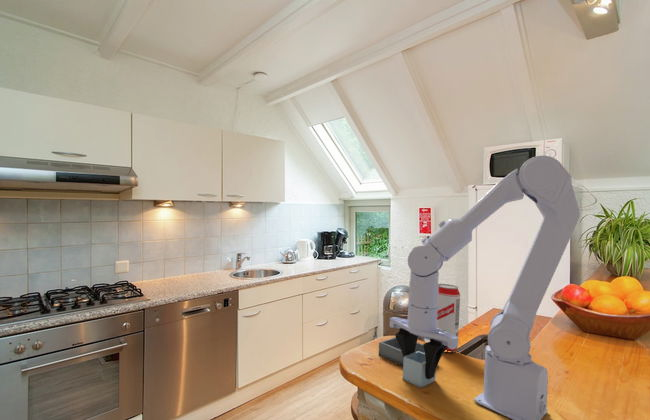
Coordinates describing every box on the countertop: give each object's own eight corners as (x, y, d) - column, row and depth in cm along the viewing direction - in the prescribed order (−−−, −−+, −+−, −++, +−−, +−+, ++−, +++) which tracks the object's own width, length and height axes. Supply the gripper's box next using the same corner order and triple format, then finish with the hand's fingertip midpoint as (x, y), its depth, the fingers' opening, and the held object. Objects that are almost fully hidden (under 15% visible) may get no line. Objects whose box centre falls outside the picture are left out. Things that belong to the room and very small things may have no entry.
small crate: (435, 380, 66) (436, 358, 66) (420, 388, 63) (422, 364, 63) (417, 372, 70) (418, 350, 70) (402, 379, 66) (403, 356, 66)
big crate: (435, 362, 75) (435, 349, 75) (415, 371, 70) (416, 357, 70) (399, 347, 83) (399, 335, 83) (378, 354, 77) (379, 342, 77)
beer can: (453, 356, 79) (456, 289, 79) (427, 348, 83) (431, 285, 83) (460, 349, 84) (463, 286, 84) (436, 342, 88) (439, 282, 88)
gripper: (467, 311, 64) (463, 382, 63) (404, 295, 75) (401, 355, 74) (449, 317, 59) (445, 393, 59) (385, 298, 70) (381, 362, 70)
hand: (419, 372), depth 66 cm, fingers closed on small crate, 4 cm apart
